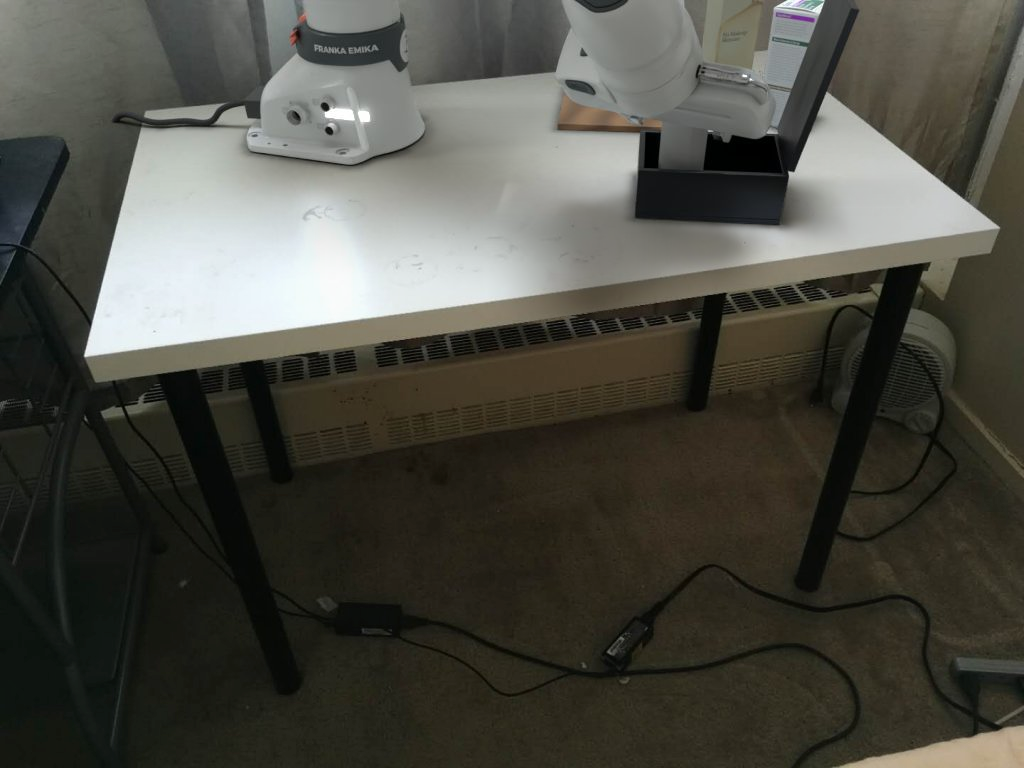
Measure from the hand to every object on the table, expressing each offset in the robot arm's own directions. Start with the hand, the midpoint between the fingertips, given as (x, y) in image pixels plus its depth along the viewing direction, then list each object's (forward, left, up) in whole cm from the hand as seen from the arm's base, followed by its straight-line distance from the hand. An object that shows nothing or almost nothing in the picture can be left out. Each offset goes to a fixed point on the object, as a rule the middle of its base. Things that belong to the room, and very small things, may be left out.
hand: (680, 125), depth 89 cm
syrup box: (+15, +24, -9) cm, 29 cm away
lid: (+12, +2, +5) cm, 13 cm away
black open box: (+4, +2, -9) cm, 10 cm away
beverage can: (+1, +2, -9) cm, 9 cm away
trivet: (-7, +26, -9) cm, 28 cm away
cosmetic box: (+8, +38, -9) cm, 39 cm away
